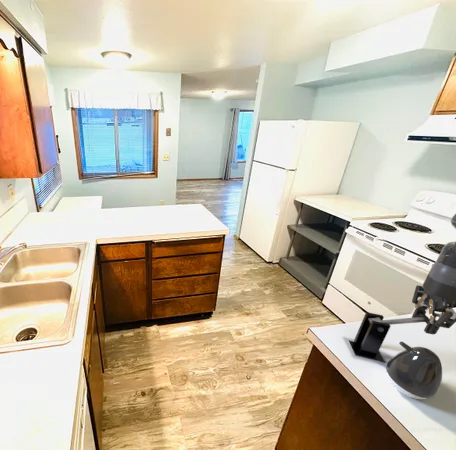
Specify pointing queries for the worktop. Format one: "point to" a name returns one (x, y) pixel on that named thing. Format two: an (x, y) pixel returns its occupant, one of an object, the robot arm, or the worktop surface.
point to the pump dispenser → (415, 372)
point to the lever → (403, 320)
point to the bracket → (370, 338)
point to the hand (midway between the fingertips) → (422, 325)
